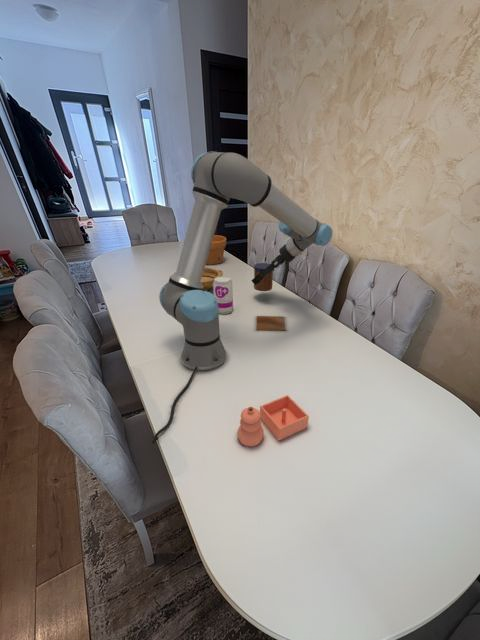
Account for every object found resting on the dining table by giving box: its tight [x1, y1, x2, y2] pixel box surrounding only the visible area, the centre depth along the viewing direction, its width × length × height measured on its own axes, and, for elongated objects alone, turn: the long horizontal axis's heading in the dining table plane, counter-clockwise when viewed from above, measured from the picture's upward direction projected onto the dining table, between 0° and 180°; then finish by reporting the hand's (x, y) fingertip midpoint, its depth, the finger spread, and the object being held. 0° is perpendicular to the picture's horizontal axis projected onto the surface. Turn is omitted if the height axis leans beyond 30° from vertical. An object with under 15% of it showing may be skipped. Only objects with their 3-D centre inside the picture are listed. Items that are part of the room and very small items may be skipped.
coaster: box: [256, 315, 287, 332], centre depth 130 cm, size 12×12×1 cm
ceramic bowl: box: [173, 266, 224, 292], centre depth 160 cm, size 30×24×8 cm
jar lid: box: [253, 262, 274, 272], centre depth 146 cm, size 9×9×2 cm
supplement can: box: [212, 275, 234, 315], centre depth 136 cm, size 8×8×15 cm
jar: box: [253, 269, 274, 292], centre depth 148 cm, size 9×9×10 cm
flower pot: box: [205, 234, 227, 265], centre depth 198 cm, size 21×21×15 cm
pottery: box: [237, 394, 310, 448], centre depth 78 cm, size 18×10×10 cm, turn 121°
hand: (257, 279), depth 150 cm, fingers closed on jar, 9 cm apart
